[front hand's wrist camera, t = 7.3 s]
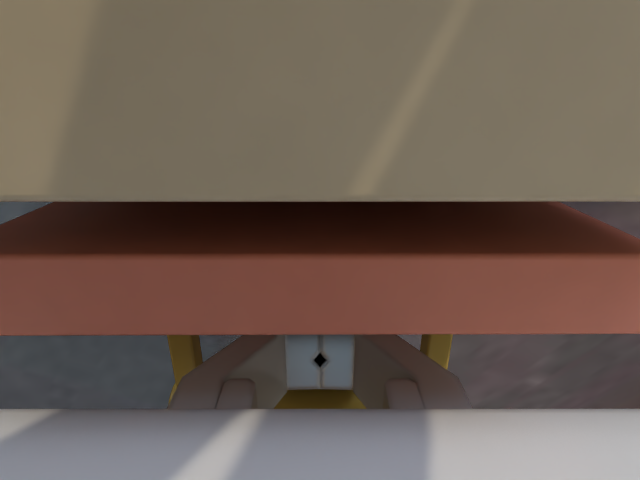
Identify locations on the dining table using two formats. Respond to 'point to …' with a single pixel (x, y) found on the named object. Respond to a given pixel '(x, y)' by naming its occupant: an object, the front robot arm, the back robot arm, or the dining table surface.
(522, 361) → the dining table surface
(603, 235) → the drawer
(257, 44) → the cabinet
